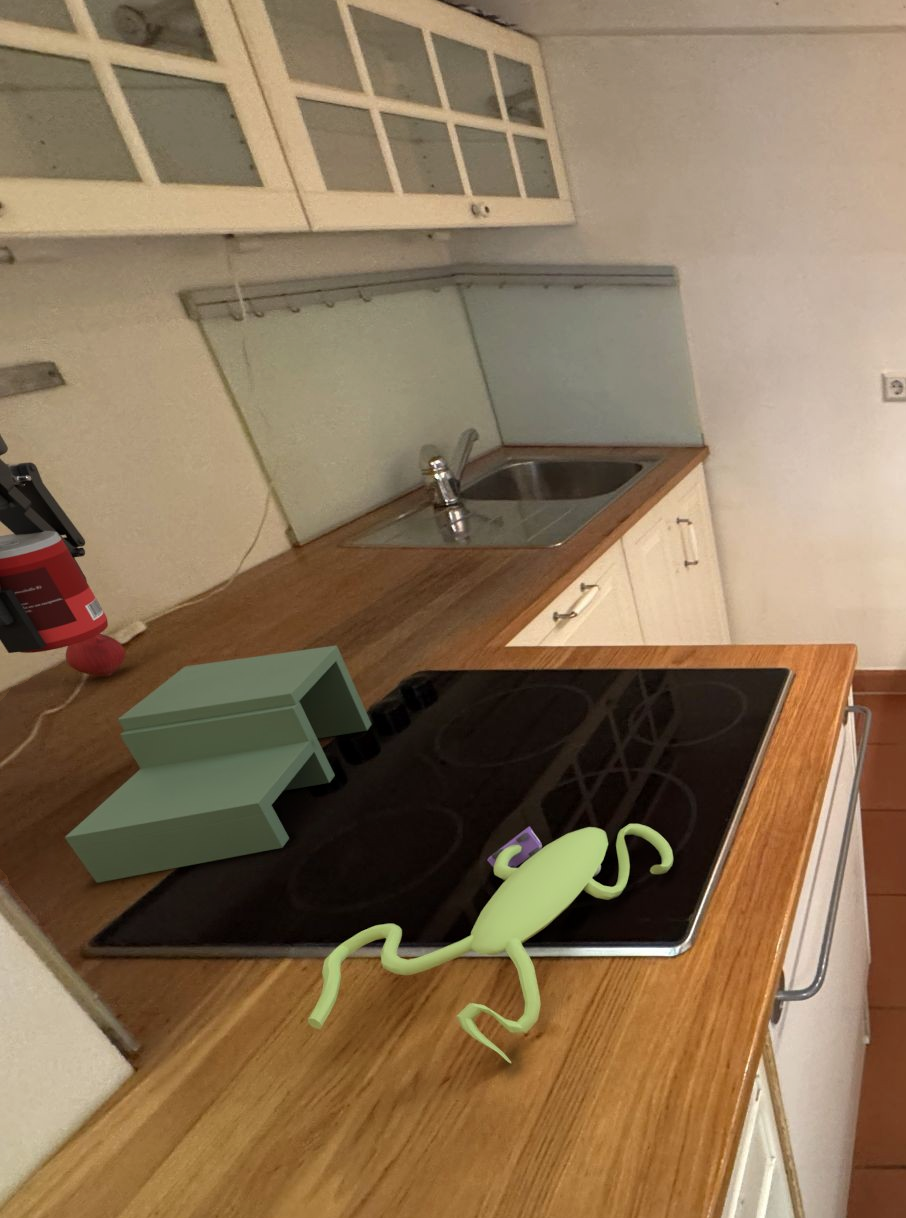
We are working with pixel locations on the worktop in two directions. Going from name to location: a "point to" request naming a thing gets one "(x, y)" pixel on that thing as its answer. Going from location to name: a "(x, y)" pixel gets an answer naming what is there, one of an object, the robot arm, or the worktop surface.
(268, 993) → the worktop surface
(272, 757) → the step rack
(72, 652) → the onion
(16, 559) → the canned food
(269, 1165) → the worktop surface
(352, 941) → the figurine
